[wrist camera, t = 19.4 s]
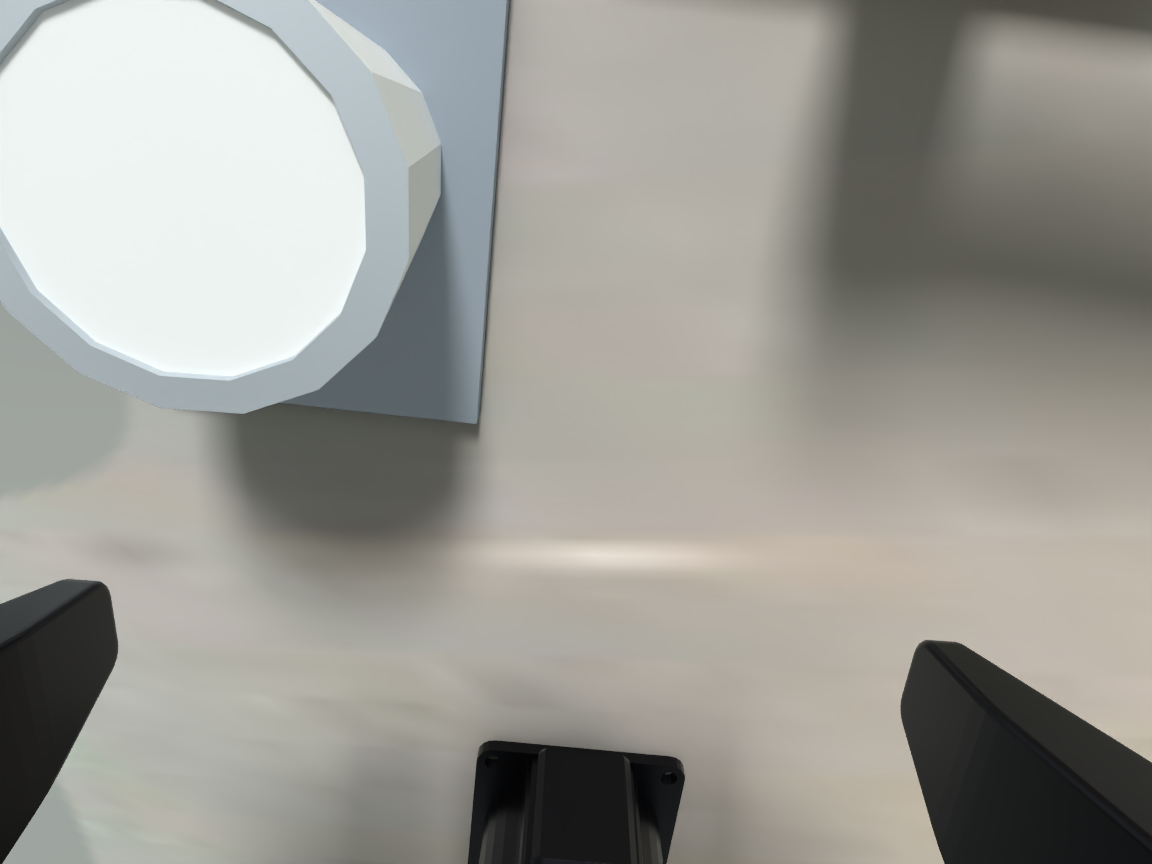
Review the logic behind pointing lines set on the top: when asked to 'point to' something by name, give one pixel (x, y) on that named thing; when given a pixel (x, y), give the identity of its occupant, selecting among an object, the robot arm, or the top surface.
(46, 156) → the white tapered cup
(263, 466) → the top surface
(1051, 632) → the top surface
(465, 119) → the slate mat
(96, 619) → the robot arm
